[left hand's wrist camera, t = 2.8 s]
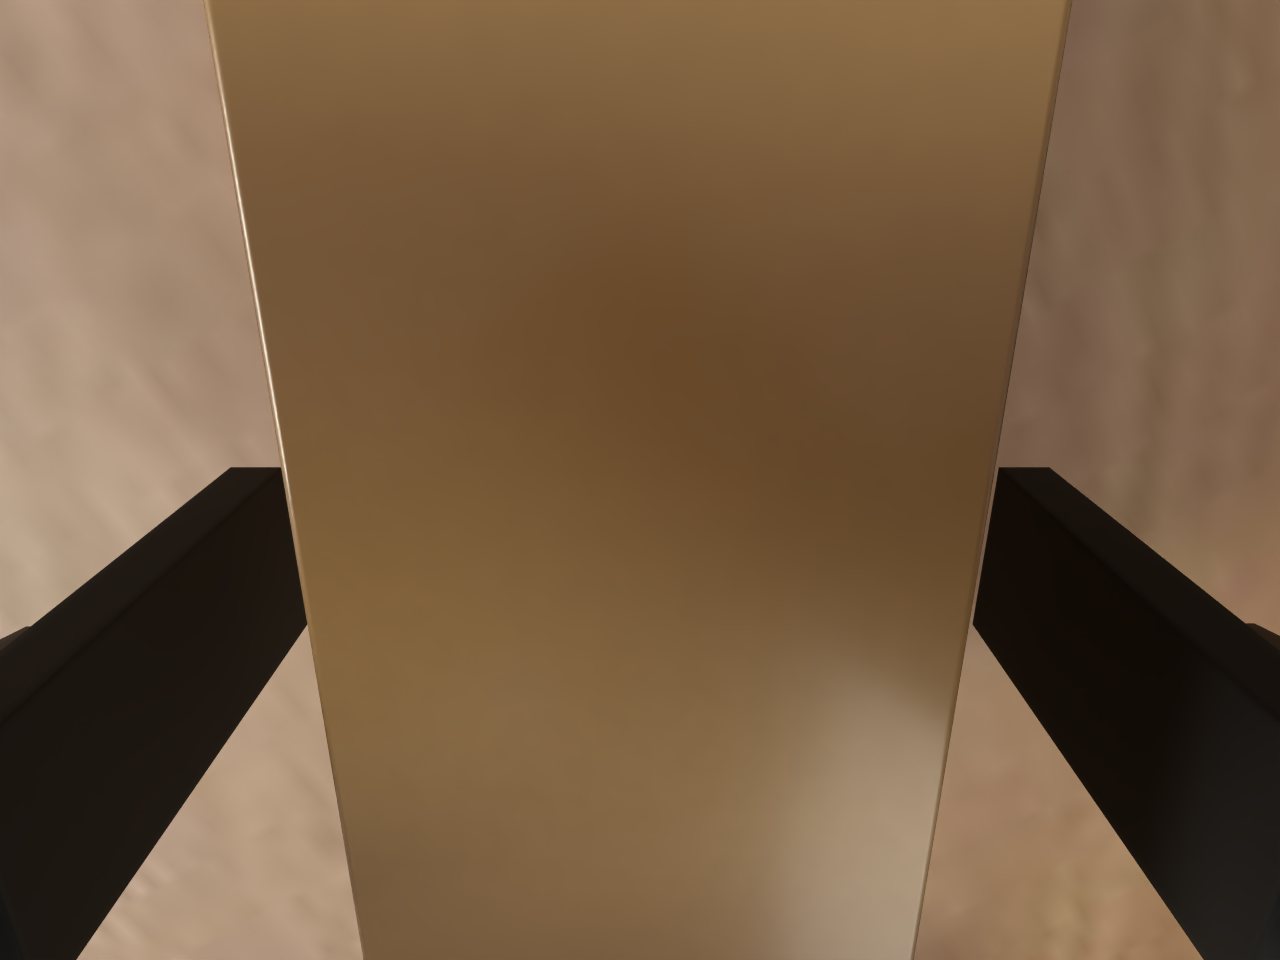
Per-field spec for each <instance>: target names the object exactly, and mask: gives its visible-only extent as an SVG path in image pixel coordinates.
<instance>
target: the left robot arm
mask: <svg viewBox="0 0 1280 960" xmlns="http://www.w3.org/2000/svg"><path fill="white" fill-rule="evenodd" d="M306 626H307V619H306V613H305V607H304V601H303V595H302V589H301V583H300V577H299V571H298V565H297V560H296V554H295V548H294V542H293V536H292V530H291V524H290V518H289V512H288V506H287V500H286V494H285V488H284V482H283V476H282V470H281V467H231V468H229V469H228V470H227V471H226V472H224V473H223V474H222V475H221V476H219V477H218V478H217V479H216V480H214V481H213V482H212V483H211V484H209V485H208V486H207V487H206V488H204V489H203V490H202V491H200V492H199V493H198V494H197V495H195V496H194V497H193V498H192V499H190V500H189V501H188V502H187V503H185V504H184V505H183V506H182V507H180V508H179V509H178V510H177V511H175V512H174V513H173V514H172V515H170V516H169V517H168V518H167V519H165V520H164V521H163V522H162V523H160V524H159V525H158V526H157V527H155V528H154V529H153V530H151V531H150V532H149V533H148V534H146V535H145V536H144V537H143V538H141V539H140V540H139V541H138V542H136V543H135V544H134V545H133V546H131V547H130V548H129V549H128V550H126V551H125V552H124V553H123V554H121V555H120V556H119V557H118V558H116V559H115V560H114V561H113V562H111V563H110V564H109V565H108V566H106V567H105V568H104V569H103V570H101V571H100V572H99V573H97V574H96V575H95V576H94V577H92V578H91V579H90V580H89V581H87V582H86V583H85V584H84V585H82V586H81V587H80V588H79V589H77V590H76V591H75V592H74V593H72V594H71V595H70V596H69V597H67V598H66V599H65V600H64V601H62V602H61V603H60V604H59V605H57V606H56V607H55V608H54V609H52V610H51V611H50V612H48V613H47V614H46V615H45V616H43V617H42V618H41V619H40V620H38V621H37V622H36V623H35V624H33V625H32V626H31V627H24V628H22V629H20V630H18V631H16V632H14V633H12V634H10V635H8V636H6V637H4V638H2V639H0V960H76V959H77V958H78V956H79V955H80V953H81V952H82V951H83V949H84V948H85V946H86V945H87V943H88V942H89V940H90V939H91V938H92V936H93V935H94V933H95V932H96V930H97V929H98V927H99V926H100V924H101V923H102V922H103V920H104V919H105V917H106V916H107V914H108V913H109V911H110V910H111V908H112V907H113V906H114V904H115V903H116V901H117V900H118V898H119V897H120V895H121V894H122V893H123V891H124V890H125V888H126V887H127V885H128V884H129V882H130V881H131V879H132V878H133V877H134V875H135V874H136V872H137V871H138V869H139V868H140V866H141V865H142V864H143V862H144V861H145V859H146V858H147V856H148V855H149V853H150V852H151V850H152V849H153V848H154V846H155V845H156V843H157V842H158V840H159V839H160V837H161V836H162V834H163V833H164V832H165V830H166V829H167V827H168V826H169V824H170V823H171V821H172V820H173V819H174V817H175V816H176V814H177V813H178V811H179V810H180V808H181V807H182V805H183V804H184V803H185V801H186V800H187V798H188V797H189V795H190V794H191V792H192V791H193V790H194V788H195V787H196V785H197V784H198V782H199V781H200V779H201V778H202V776H203V775H204V774H205V772H206V771H207V769H208V768H209V766H210V765H211V763H212V762H213V760H214V759H215V758H216V756H217V755H218V753H219V752H220V750H221V749H222V747H223V746H224V745H225V743H226V742H227V740H228V739H229V737H230V736H231V734H232V733H233V731H234V730H235V729H236V727H237V726H238V724H239V723H240V721H241V720H242V718H243V717H244V716H245V714H246V713H247V711H248V710H249V708H250V707H251V705H252V704H253V702H254V701H255V700H256V698H257V697H258V695H259V694H260V692H261V691H262V689H263V688H264V686H265V685H266V684H267V682H268V681H269V679H270V678H271V676H272V675H273V673H274V672H275V671H276V669H277V668H278V666H279V665H280V663H281V662H282V660H283V659H284V657H285V656H286V655H287V653H288V652H289V650H290V649H291V647H292V646H293V644H294V643H295V642H296V640H297V639H298V637H299V636H300V634H301V633H302V631H303V630H304V628H305V627H306ZM973 626H974V627H975V628H976V630H977V631H978V633H979V634H980V636H981V637H982V639H983V640H984V642H985V643H986V644H987V646H988V647H989V649H990V650H991V652H992V653H993V655H994V656H995V657H996V659H997V660H998V662H999V663H1000V665H1001V666H1002V668H1003V669H1004V671H1005V672H1006V673H1007V675H1008V676H1009V678H1010V679H1011V681H1012V682H1013V684H1014V685H1015V687H1016V688H1017V689H1018V691H1019V692H1020V694H1021V695H1022V697H1023V698H1024V700H1025V701H1026V702H1027V704H1028V705H1029V707H1030V708H1031V710H1032V711H1033V713H1034V714H1035V716H1036V717H1037V718H1038V720H1039V721H1040V723H1041V724H1042V726H1043V727H1044V729H1045V730H1046V731H1047V733H1048V734H1049V736H1050V737H1051V739H1052V740H1053V742H1054V743H1055V745H1056V746H1057V747H1058V749H1059V750H1060V752H1061V753H1062V755H1063V756H1064V758H1065V759H1066V761H1067V762H1068V763H1069V765H1070V766H1071V768H1072V769H1073V771H1074V772H1075V774H1076V775H1077V776H1078V778H1079V779H1080V781H1081V782H1082V784H1083V785H1084V787H1085V788H1086V790H1087V791H1088V792H1089V794H1090V795H1091V797H1092V798H1093V800H1094V801H1095V803H1096V804H1097V805H1098V807H1099V808H1100V810H1101V811H1102V813H1103V814H1104V816H1105V817H1106V819H1107V820H1108V821H1109V823H1110V824H1111V826H1112V827H1113V829H1114V830H1115V832H1116V833H1117V835H1118V836H1119V837H1120V839H1121V840H1122V842H1123V843H1124V845H1125V846H1126V848H1127V849H1128V850H1129V852H1130V853H1131V855H1132V856H1133V858H1134V859H1135V861H1136V862H1137V864H1138V865H1139V866H1140V868H1141V869H1142V871H1143V872H1144V874H1145V875H1146V877H1147V878H1148V879H1149V881H1150V882H1151V884H1152V885H1153V887H1154V888H1155V890H1156V891H1157V893H1158V894H1159V895H1160V897H1161V898H1162V900H1163V901H1164V903H1165V904H1166V906H1167V907H1168V909H1169V910H1170V911H1171V913H1172V914H1173V916H1174V917H1175V919H1176V920H1177V922H1178V923H1179V924H1180V926H1181V927H1182V929H1183V930H1184V932H1185V933H1186V935H1187V936H1188V938H1189V939H1190V940H1191V942H1192V943H1193V945H1194V946H1195V948H1196V949H1197V951H1198V952H1199V954H1200V955H1201V956H1202V958H1203V959H1204V960H1280V636H1279V635H1277V634H1275V633H1273V632H1271V631H1269V630H1267V629H1265V628H1263V627H1261V626H1259V625H1256V624H1254V623H1244V622H1243V621H1242V620H1240V619H1239V618H1238V617H1237V616H1235V615H1234V614H1233V613H1231V612H1230V611H1229V610H1228V609H1226V608H1225V607H1224V606H1223V605H1221V604H1220V603H1219V602H1218V601H1216V600H1215V599H1214V598H1213V597H1211V596H1210V595H1209V594H1208V593H1206V592H1205V591H1204V590H1203V589H1201V588H1200V587H1199V586H1198V585H1196V584H1195V583H1194V582H1193V581H1191V580H1190V579H1189V578H1188V577H1186V576H1185V575H1184V574H1183V573H1181V572H1180V571H1179V570H1177V569H1176V568H1175V567H1174V566H1172V565H1171V564H1170V563H1169V562H1167V561H1166V560H1165V559H1164V558H1162V557H1161V556H1160V555H1159V554H1157V553H1156V552H1155V551H1154V550H1152V549H1151V548H1150V547H1149V546H1147V545H1146V544H1145V543H1144V542H1142V541H1141V540H1140V539H1139V538H1137V537H1136V536H1135V535H1134V534H1132V533H1131V532H1130V531H1128V530H1127V529H1126V528H1125V527H1123V526H1122V525H1121V524H1120V523H1118V522H1117V521H1116V520H1115V519H1113V518H1112V517H1111V516H1110V515H1108V514H1107V513H1106V512H1105V511H1103V510H1102V509H1101V508H1100V507H1098V506H1097V505H1096V504H1095V503H1093V502H1092V501H1091V500H1090V499H1088V498H1087V497H1086V496H1085V495H1083V494H1082V493H1081V492H1079V491H1078V490H1077V489H1076V488H1074V487H1073V486H1072V485H1071V484H1069V483H1068V482H1067V481H1066V480H1064V479H1063V478H1062V477H1061V476H1059V475H1058V474H1057V473H1056V472H1054V471H1053V470H1052V469H1051V468H1049V467H999V470H998V476H997V482H996V488H995V494H994V500H993V506H992V512H991V518H990V524H989V530H988V536H987V542H986V547H985V553H984V559H983V565H982V571H981V577H980V583H979V589H978V595H977V601H976V607H975V613H974V619H973Z"/></svg>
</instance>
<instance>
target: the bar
mask: <svg viewBox="0 0 1280 960" xmlns="http://www.w3.org/2000/svg"><path fill="white" fill-rule="evenodd" d="M203 1H204V7H205V13H206V19H207V25H208V31H209V37H210V43H211V49H212V55H213V61H214V67H215V73H216V79H217V85H218V91H219V97H220V103H221V109H222V115H223V121H224V127H225V133H226V139H227V145H228V151H229V157H230V163H231V169H232V175H233V181H234V186H235V192H236V198H237V204H238V210H239V216H240V222H241V228H242V234H243V240H244V246H245V252H246V258H247V264H248V270H249V276H250V282H251V288H252V294H253V300H254V306H255V312H256V318H257V324H258V330H259V336H260V342H261V348H262V354H263V360H264V366H265V372H266V378H267V384H268V390H269V396H270V402H271V408H272V414H273V420H274V426H275V432H276V438H277V444H278V450H279V456H280V462H281V468H282V474H283V480H284V486H285V492H286V498H287V504H288V510H289V516H290V522H291V528H292V534H293V540H294V546H295V551H296V557H297V563H298V569H299V575H300V581H301V587H302V593H303V599H304V605H305V611H306V617H307V623H308V629H309V635H310V641H311V647H312V653H313V659H314V665H315V671H316V677H317V683H318V689H319V695H320V701H321V707H322V713H323V719H324V725H325V731H326V737H327V743H328V749H329V755H330V761H331V767H332V773H333V779H334V785H335V791H336V797H337V803H338V809H339V815H340V821H341V827H342V833H343V839H344V845H345V851H346V857H347V863H348V869H349V875H350V881H351V887H352V893H353V899H354V905H355V910H356V916H357V922H358V928H359V934H360V940H361V946H362V952H363V958H364V960H914V954H915V948H916V942H917V936H918V930H919V924H920V918H921V912H922V906H923V900H924V894H925V888H926V882H927V875H928V869H929V863H930V857H931V851H932V845H933V839H934V833H935V827H936V821H937V815H938V809H939V803H940V797H941V791H942V785H943V779H944V773H945V767H946V761H947V755H948V748H949V742H950V736H951V730H952V724H953V718H954V712H955V706H956V700H957V694H958V688H959V682H960V676H961V670H962V664H963V658H964V652H965V646H966V640H967V634H968V628H969V621H970V615H971V609H972V603H973V597H974V591H975V585H976V579H977V573H978V567H979V561H980V555H981V549H982V543H983V537H984V531H985V525H986V519H987V513H988V507H989V501H990V495H991V488H992V482H993V476H994V470H995V464H996V458H997V452H998V446H999V440H1000V434H1001V428H1002V422H1003V416H1004V410H1005V404H1006V398H1007V392H1008V386H1009V380H1010V374H1011V368H1012V361H1013V355H1014V349H1015V343H1016V337H1017V331H1018V325H1019V319H1020V313H1021V307H1022V301H1023V295H1024V289H1025V283H1026V277H1027V271H1028V265H1029V259H1030V253H1031V247H1032V241H1033V234H1034V228H1035V222H1036V216H1037V210H1038V204H1039V198H1040V192H1041V186H1042V180H1043V174H1044V168H1045V162H1046V156H1047V150H1048V144H1049V138H1050V132H1051V126H1052V120H1053V114H1054V107H1055V101H1056V95H1057V89H1058V83H1059V77H1060V71H1061V65H1062V59H1063V53H1064V47H1065V41H1066V35H1067V29H1068V23H1069V17H1070V11H1071V5H1072V0H203Z"/></svg>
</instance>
